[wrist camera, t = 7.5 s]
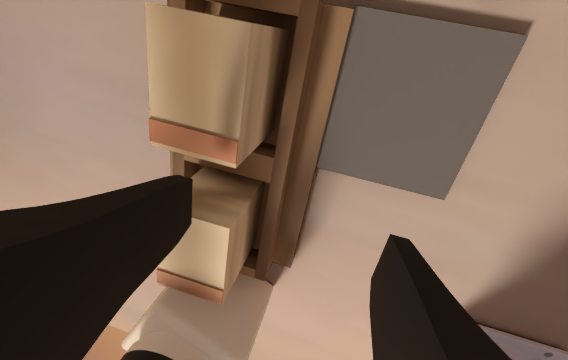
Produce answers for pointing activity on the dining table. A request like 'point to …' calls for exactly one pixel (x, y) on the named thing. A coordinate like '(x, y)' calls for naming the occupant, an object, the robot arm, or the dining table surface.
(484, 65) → the charcoal mat
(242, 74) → the birch block
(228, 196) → the block
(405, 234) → the dining table surface
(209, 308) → the medicine bottle
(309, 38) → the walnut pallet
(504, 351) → the robot arm
